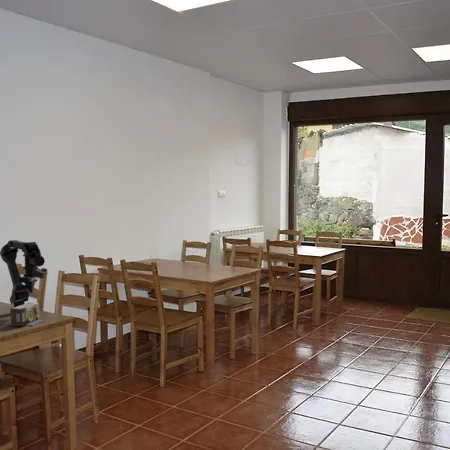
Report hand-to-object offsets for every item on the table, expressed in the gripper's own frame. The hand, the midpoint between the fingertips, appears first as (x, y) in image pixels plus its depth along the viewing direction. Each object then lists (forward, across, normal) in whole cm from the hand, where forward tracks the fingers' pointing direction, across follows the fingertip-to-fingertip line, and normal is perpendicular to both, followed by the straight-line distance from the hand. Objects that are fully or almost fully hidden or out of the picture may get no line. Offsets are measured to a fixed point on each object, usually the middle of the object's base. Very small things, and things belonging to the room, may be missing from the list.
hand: (31, 292), depth 299 cm
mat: (+13, -16, -6) cm, 21 cm away
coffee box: (+8, -8, -6) cm, 13 cm away
